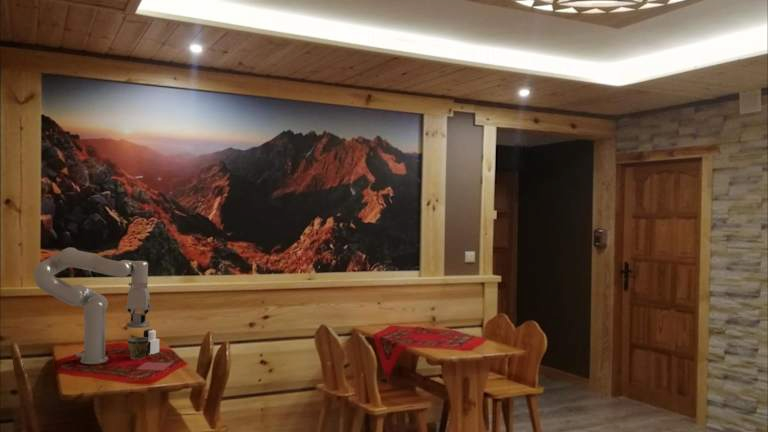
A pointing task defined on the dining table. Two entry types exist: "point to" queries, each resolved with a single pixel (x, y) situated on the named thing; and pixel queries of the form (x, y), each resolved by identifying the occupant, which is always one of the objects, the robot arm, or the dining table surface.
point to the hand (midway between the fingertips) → (138, 321)
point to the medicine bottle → (151, 342)
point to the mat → (154, 366)
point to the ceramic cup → (138, 347)
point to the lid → (137, 322)
